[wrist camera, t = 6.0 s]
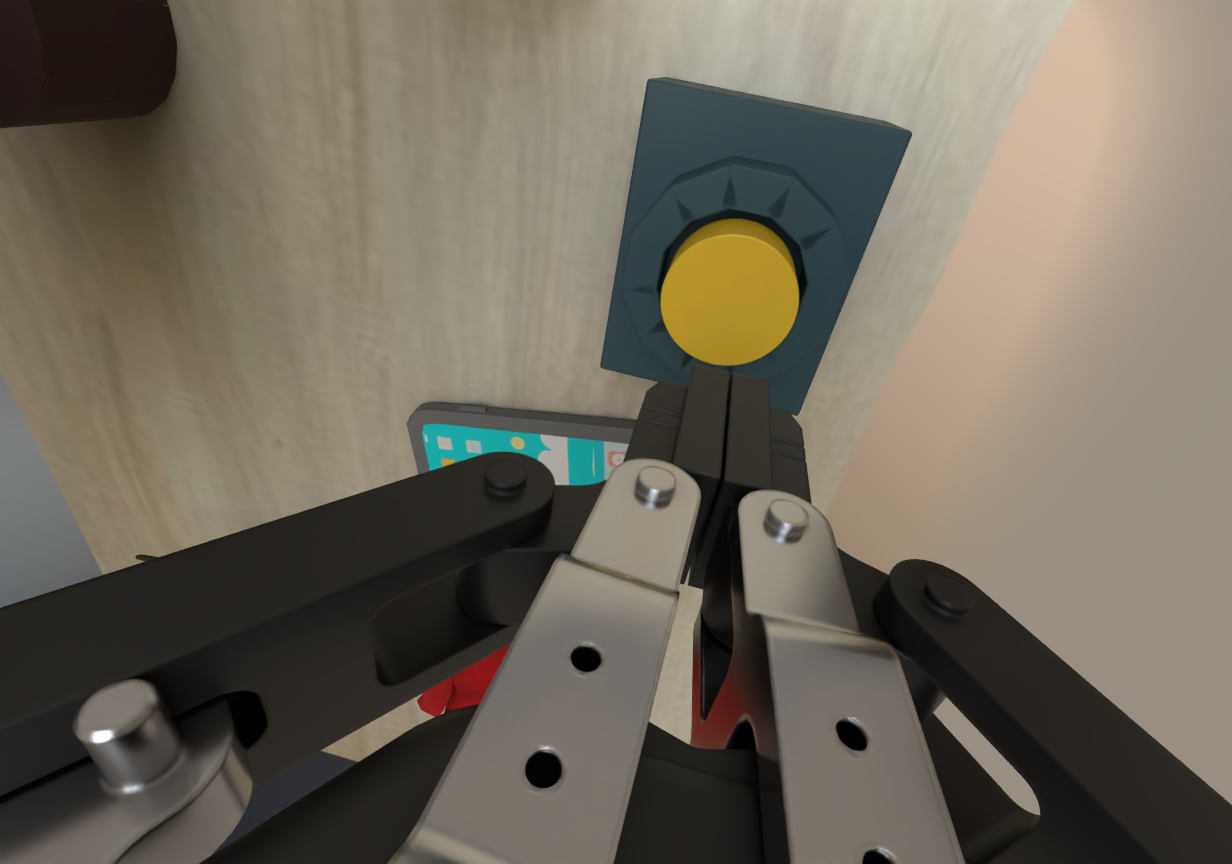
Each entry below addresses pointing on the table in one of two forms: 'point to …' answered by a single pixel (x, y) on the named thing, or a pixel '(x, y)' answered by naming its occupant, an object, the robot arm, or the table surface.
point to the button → (730, 292)
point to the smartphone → (520, 439)
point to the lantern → (83, 60)
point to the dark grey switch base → (747, 217)
